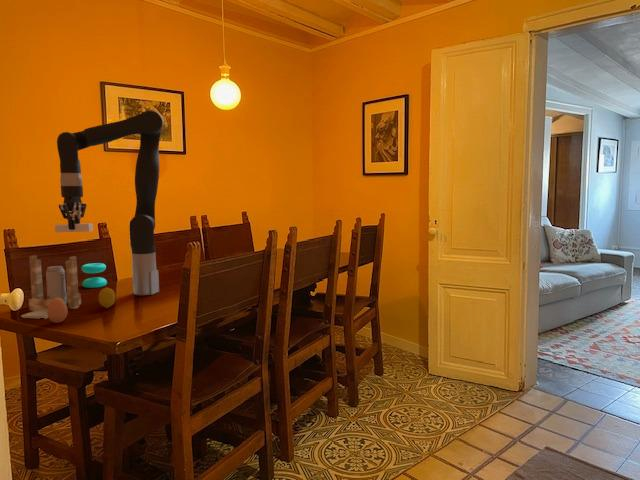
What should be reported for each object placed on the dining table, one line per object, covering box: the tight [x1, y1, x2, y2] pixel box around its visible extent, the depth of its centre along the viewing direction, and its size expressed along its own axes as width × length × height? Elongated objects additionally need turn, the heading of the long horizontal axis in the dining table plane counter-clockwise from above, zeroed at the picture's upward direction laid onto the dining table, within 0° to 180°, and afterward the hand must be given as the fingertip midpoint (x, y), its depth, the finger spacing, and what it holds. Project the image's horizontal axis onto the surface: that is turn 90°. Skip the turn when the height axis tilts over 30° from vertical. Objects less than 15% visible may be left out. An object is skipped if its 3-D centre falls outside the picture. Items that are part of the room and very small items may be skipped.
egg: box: [47, 298, 69, 324], centre depth 147 cm, size 6×6×8 cm
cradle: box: [28, 254, 82, 312], centre depth 166 cm, size 17×12×19 cm
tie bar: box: [54, 222, 94, 234], centre depth 178 cm, size 14×2×3 cm, turn 83°
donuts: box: [81, 262, 108, 289], centre depth 203 cm, size 10×10×10 cm
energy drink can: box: [45, 265, 68, 305], centre depth 166 cm, size 6×6×15 cm
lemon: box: [98, 286, 116, 309], centre depth 165 cm, size 6×6×8 cm
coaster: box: [20, 309, 49, 320], centre depth 157 cm, size 9×9×1 cm
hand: (74, 229), depth 178 cm, fingers closed on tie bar, 2 cm apart
